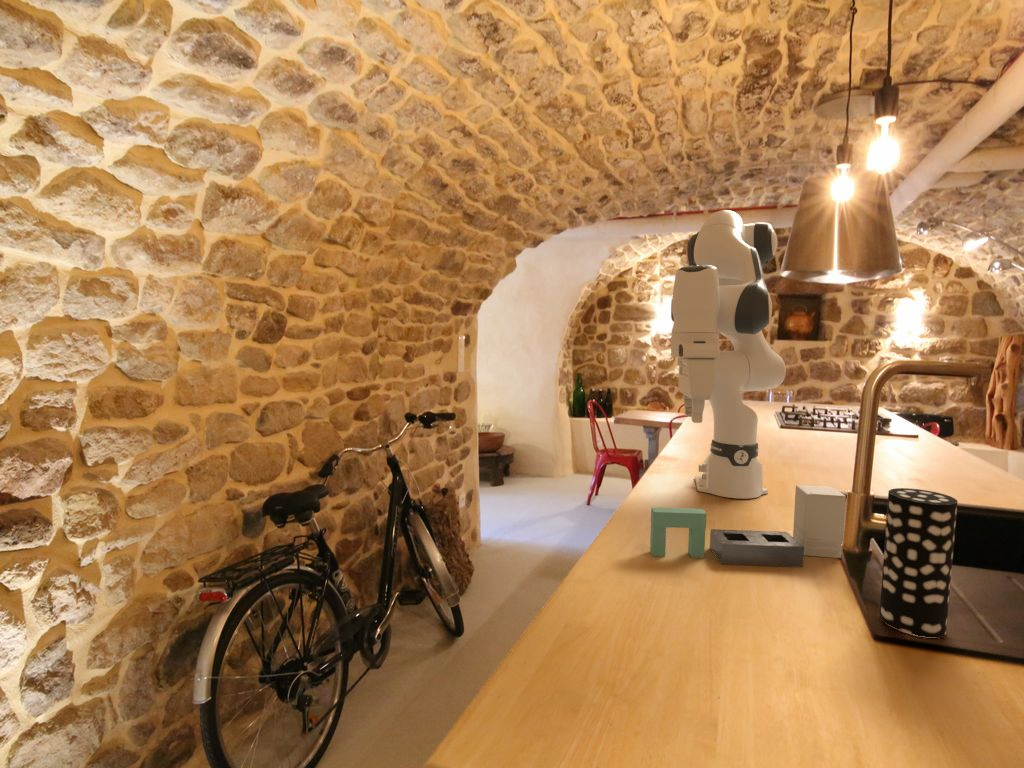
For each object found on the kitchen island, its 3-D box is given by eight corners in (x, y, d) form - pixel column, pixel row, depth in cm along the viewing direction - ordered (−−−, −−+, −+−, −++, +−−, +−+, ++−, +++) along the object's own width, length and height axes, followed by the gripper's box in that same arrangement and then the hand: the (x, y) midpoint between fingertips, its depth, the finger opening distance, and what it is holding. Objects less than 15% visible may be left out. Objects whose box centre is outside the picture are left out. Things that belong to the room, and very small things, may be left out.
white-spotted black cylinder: (886, 605, 91) (895, 485, 90) (950, 624, 86) (961, 496, 84) (873, 623, 86) (882, 495, 84) (940, 645, 80) (952, 508, 78)
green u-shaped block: (649, 550, 113) (651, 507, 113) (700, 552, 113) (702, 508, 112) (652, 556, 110) (653, 511, 110) (704, 558, 110) (706, 513, 109)
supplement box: (843, 559, 110) (847, 496, 109) (802, 555, 112) (805, 493, 110) (829, 545, 117) (833, 485, 116) (791, 542, 119) (794, 483, 118)
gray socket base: (709, 548, 115) (710, 529, 115) (785, 550, 114) (786, 531, 114) (721, 564, 107) (722, 543, 107) (802, 567, 106) (804, 546, 106)
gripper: (671, 348, 120) (670, 413, 121) (684, 348, 100) (683, 425, 101) (702, 348, 119) (701, 413, 120) (721, 348, 99) (719, 426, 100)
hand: (693, 419), depth 110 cm, fingers open, 8 cm apart
